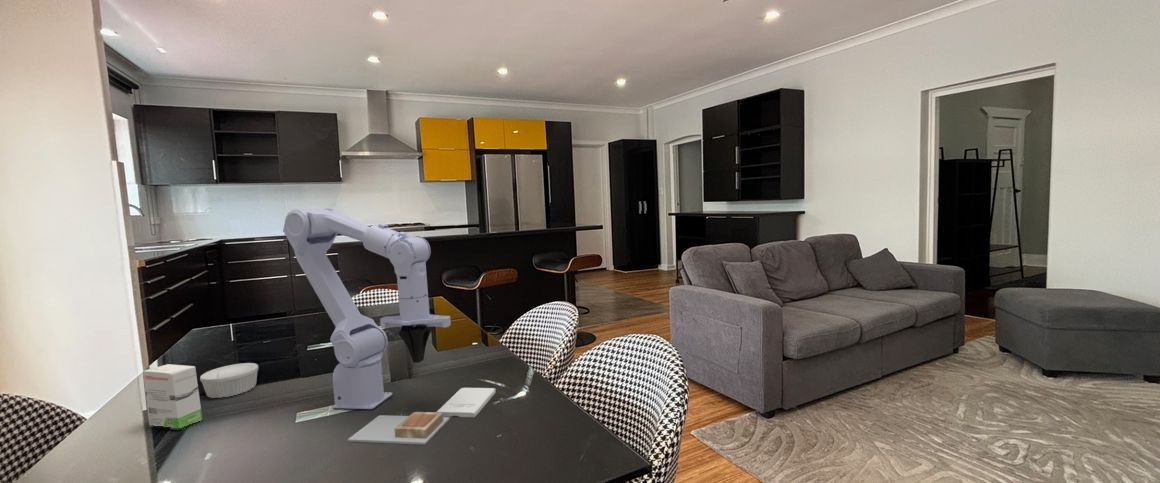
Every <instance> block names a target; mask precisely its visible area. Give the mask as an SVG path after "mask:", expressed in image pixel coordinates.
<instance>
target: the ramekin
mask: <svg viewBox="0 0 1160 483" xmlns="http://www.w3.org/2000/svg"><path fill="white" fill-rule="evenodd" d="M258 371H259V365H258V364H257V363H254V362H245V363H244V362H243V363H235V364H230V365H224V366H221V367H217V368H214V369H210V370H208V371H206V372H204V373H203V374H201V375H200V378H199V380H200V382H201V383H202V386H203V389H204V392H205V394H206V396H207V397H208V398H210V397H211V398H210V399H212V398H222V397H229V396H233V395H237V394H240V393H243V392H246V391H248V390H250V391H252V390H253V389H254V388H255V387H256V385H257V380H258V378H257V377H258ZM252 388H253V389H252ZM251 389H252V390H251ZM246 393H247V392H246ZM237 396H238V395H237ZM233 397H234V396H233ZM229 398H230V397H229Z"/></svg>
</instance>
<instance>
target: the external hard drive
mask: <svg viewBox="0 0 1160 483" xmlns="http://www.w3.org/2000/svg"><path fill="white" fill-rule="evenodd" d="M496 391H497V390H496V388H495V387H461V388H460V389H459V390H458V391H456V393H454V395H453V396H451V397H450V398H449V399H448V400H447V401H446V402H445V403H444V404H443V405H442V406H441V407H440V408H439V409H438V410H437V411H436V413H443V417H450V418H452V417H458V418H475V417H476V416H477V415H478V414H479V413H480V412H481V410H483V408H484V407H485V406H486V405H487V403H488V402H489V401H490V400H491V399H492V398H493V397H494V396H495V395H496V393H497V392H496Z"/></svg>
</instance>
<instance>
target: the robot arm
mask: <svg viewBox="0 0 1160 483" xmlns="http://www.w3.org/2000/svg"><path fill="white" fill-rule="evenodd" d="M282 232H283V233H284V235H285V237H286V239H287V240H288V242H289V244H290V245H291V247H292V249H293V252H294V254H295V258H296V261H297V262H298V264H299V266H300V268H301V270H302V271H303V273H304V275H305V277H306V278H307V280H308V282H309V284H310V285H311V287H312V288H313V291H314V292H315V294H316V295H317V298H318V299H319V300H320V302H321V305H322V306H323V308H324V310H325V311H326V313H327V314H328V316H329V318H330V319H331V321H332V323H333V325H334V327H335V328H334V330H333V332H332V334H331V336H330V339H329V340H330V342H331V344H332V347H333V349H334V350H333V351H334V355H335V359H337V361H338V362H339V363H338V364H337V365H336V366H335V367H334V370H333V371H332V372H333V373H332V388H333V399H334V400H333V401H334V404H333V405H332V408H333V409H349V410H350V409H351V410H353V409H354V410H373V409H374V408H377V406H378V407H379V405H381V403H383V402H385V401H386V400H387V399H388V398H390V397H391V396H392V395H393V392H390V391H389V392H387V391H386V392H385V390H384V378H383V377H384V376H383V366H382V358H384V354H383V353H384V352H385V351H386V349H387V348H388V336H387V334H386V332H385V331H384V330H383V329H384V328H392V327H393V328H400V330H398V336H399V337H400V338H401V339H402V341H403V342H404V344H405V346H406V347H407V349H408V352H409V354H410V358H411V361H412V363H414V364H417V363H421V362H422V361H424V360H425V358H424V357H425V351H426V346H427V343H428V340H429V338H430V334H431V333H432V330H433V327H434V328H436V327H440V328H448V327H450V326H451V325H452V324H451V322H452V321H451V316H450V315H439V314H430V305H429V291H428V276H427V265H426V262H427V261H428V260H429V259H430V257H431V254H432V253H431V252H432V251H431V250H432V249H431V246H430V243H429V242H428V240H426V238H424V237H422V236H421V235H415V236H412V237H409V236H408V234H407V233H406V232H404V231H400V232H399V231H396V230H394V229H391V228H389V224H386V223H377V224H373V225H371V226H368V225H366V224H365V223H363V222H360V221H358V220H356V219H354V218H351V217H349V216H347V215H345V214H343V213H342V212H341V211H339V210H334V209H332V208H324V209H292V210H291V211H289V212H288V213H287V214H286V217H285V220H284V225H283V229H282ZM338 235H342V236H345V237H347V238H351V239H353V240H357V241H360V242H362V244H363V247H364V249H366V250H368V251H370V252H372V253H375V254H376V255H378V256H382V257H384V258H386V259H389V261H390V263H391V264H392V266H393V268H394V274H395V275H396V279H397V280H396V282H397V292H398V293H397V294H398V307H399V315H391V316H383V317H381V318H380V319H379V321H380V322H379V323H380V327H379V326H378V324H376V322H375V321H374V319H373V318H370V317H369V316H365V315H363V314H361V313H360V311H359V308H358V307H357V305H356V304H355V302H354V301H353V298H352V297H351V295H350V294H349V292H348V290H347V288H346V287H345V285H344V284H343V281H342V280H341V278H340V276H339V275H338V272H337V271H336V269H335V268H334V266H333V265H332V262H331V261H330V259H329V258H328V256H327V253H328V252H327V251H328V250H329V249H331V247H332V245H333V243H334V242H335V239H336V237H337V236H338Z"/></svg>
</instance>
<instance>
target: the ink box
mask: <svg viewBox="0 0 1160 483" xmlns="http://www.w3.org/2000/svg"><path fill="white" fill-rule="evenodd" d="M196 370H197V369H196V366H195V365H182V364H169V363H166V364H164V365H160V366H156V367H153V368H148V369H145V370H143V371H142V375H143V377H142V378H143V385H144V393H145V399H146V401H145V402H146V408H147V417H148V424H149V425H154V426H163V427H171V428H177V429H178V428H182V427H184V426H187V425H189V424H192V423H195V422H198V421H200V422H202V421H203V413H202V407H201V400H200V392H199V391H200V390H199V384H198V377H197V371H196ZM201 420H202V421H201ZM198 423H199V422H198Z"/></svg>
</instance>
